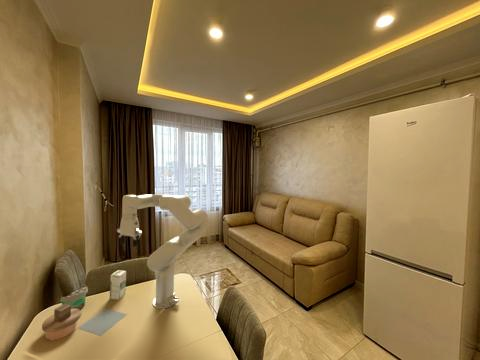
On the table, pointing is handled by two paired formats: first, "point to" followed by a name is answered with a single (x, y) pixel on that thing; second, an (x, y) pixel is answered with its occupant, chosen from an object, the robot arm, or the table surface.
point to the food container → (76, 298)
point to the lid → (61, 318)
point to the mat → (102, 321)
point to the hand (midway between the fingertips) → (128, 244)
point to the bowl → (61, 332)
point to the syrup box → (117, 284)
